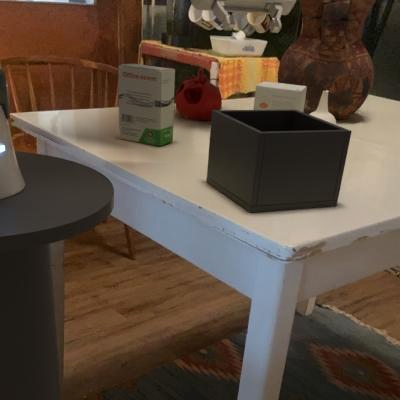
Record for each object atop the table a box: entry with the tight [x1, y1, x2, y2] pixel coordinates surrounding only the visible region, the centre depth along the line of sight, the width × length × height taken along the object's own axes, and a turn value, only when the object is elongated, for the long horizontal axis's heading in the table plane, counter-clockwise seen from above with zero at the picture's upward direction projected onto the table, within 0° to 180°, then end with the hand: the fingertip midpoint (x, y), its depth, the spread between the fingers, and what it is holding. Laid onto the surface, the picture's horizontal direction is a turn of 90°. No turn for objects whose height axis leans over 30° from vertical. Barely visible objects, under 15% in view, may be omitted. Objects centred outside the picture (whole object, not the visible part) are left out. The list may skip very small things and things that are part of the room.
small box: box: [252, 80, 307, 112], centre depth 105 cm, size 8×6×10 cm
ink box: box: [118, 63, 176, 147], centre depth 104 cm, size 9×5×12 cm, turn 62°
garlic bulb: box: [309, 90, 337, 125], centre depth 121 cm, size 6×6×8 cm
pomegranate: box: [174, 68, 223, 121], centre depth 124 cm, size 10×10×9 cm
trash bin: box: [205, 109, 353, 214], centre depth 83 cm, size 14×14×10 cm
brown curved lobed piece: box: [277, 0, 377, 120], centre depth 134 cm, size 22×21×25 cm
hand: (253, 29), depth 107 cm, fingers open, 8 cm apart
